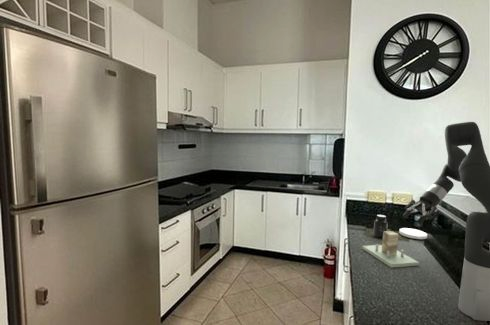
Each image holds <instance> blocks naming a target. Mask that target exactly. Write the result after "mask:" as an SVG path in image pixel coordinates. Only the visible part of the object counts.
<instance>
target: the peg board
mask: <svg viewBox="0 0 490 325" xmlns="http://www.w3.org/2000/svg"><path fill="white" fill-rule="evenodd" d="M362 250H363V251H366V252H367V253H368V254H369V255H371V256H372V257H374V258H376V259H377V260H379V261H381V262H382V263H384V264H385V265H387V266H388V267H389V268H404V267H416V266H417V267H418V266H419V265H420V262H419V261H417V260H415V259H414V258H412V257H410V256H408V255H406V254H405V250H404V249H401V250H400V251H399V250H398V249H397V255H391V256H390V251H387V255H386V254H385V253H383V252H382V244H372V245H362Z"/></svg>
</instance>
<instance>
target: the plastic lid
mask: <svg viewBox="0 0 490 325" xmlns="http://www.w3.org/2000/svg"><path fill="white" fill-rule="evenodd" d="M398 232H399V233H398V234H399V235H401V236H403V237H406V238H409V239H416V240H426V239H428V233H427V232H424V231H423V230H420V229H416V228H408V227H402V228H399V230H398Z"/></svg>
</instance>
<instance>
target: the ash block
mask: <svg viewBox="0 0 490 325" xmlns="http://www.w3.org/2000/svg"><path fill="white" fill-rule="evenodd" d="M399 235H400V233H398V232H397V233H396V232H395V231H392V230H387V231H383V238H382V242H381V243H382V244H381V245H382V252H383V253H385V254H386V255H387V251H390V256H391V255H397V250H398V244H399Z"/></svg>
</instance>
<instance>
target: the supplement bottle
mask: <svg viewBox="0 0 490 325" xmlns="http://www.w3.org/2000/svg"><path fill="white" fill-rule="evenodd" d="M388 224H389V223H388V221H387V216H386V215H383V214H377V215H376V219H375V220H374V223H373V233H372V234H373V236H374V237H375V238H377V239H383V231H388Z"/></svg>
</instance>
